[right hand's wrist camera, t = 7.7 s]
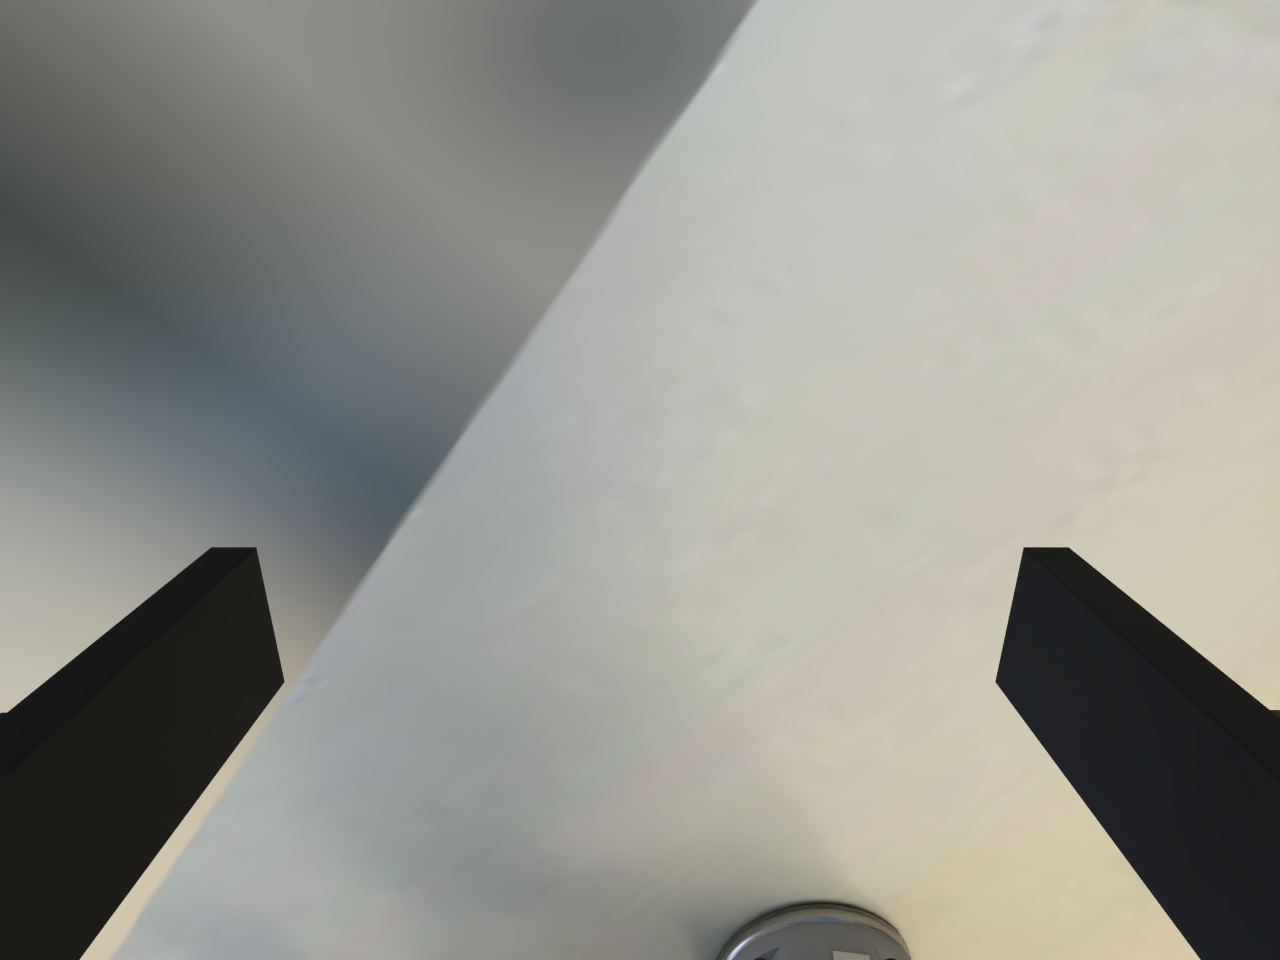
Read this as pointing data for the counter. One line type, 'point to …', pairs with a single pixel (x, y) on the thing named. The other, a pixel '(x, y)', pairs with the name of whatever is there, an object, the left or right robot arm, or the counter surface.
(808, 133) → the counter surface
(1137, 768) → the right robot arm
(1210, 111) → the counter surface
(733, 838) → the counter surface
